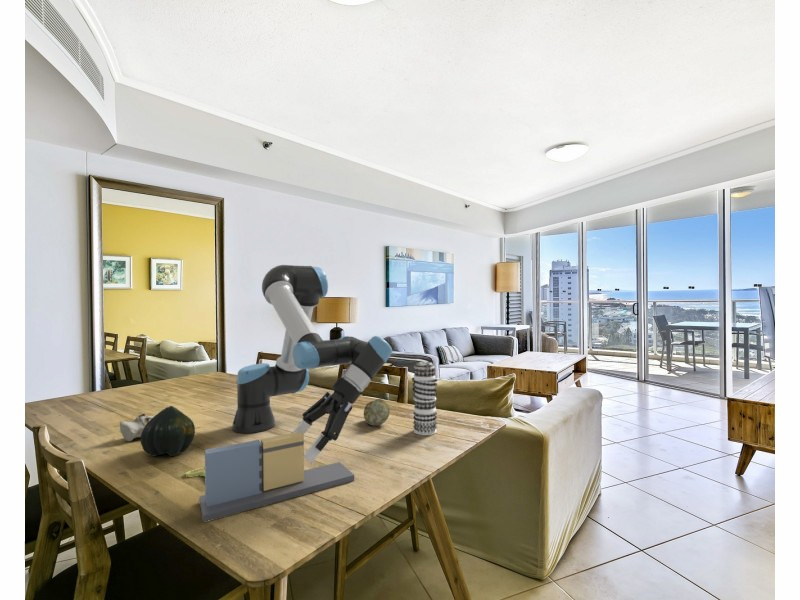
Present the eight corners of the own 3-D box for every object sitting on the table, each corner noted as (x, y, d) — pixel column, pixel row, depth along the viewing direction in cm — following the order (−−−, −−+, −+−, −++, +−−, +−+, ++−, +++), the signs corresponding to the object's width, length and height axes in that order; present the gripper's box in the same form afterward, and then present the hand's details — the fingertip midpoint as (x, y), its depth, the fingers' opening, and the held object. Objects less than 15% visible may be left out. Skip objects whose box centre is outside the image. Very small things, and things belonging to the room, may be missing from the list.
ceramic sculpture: (115, 414, 137) (163, 407, 148) (114, 439, 136) (161, 430, 147) (124, 420, 130) (173, 413, 141) (122, 446, 129) (172, 437, 141)
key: (213, 485, 102) (213, 477, 102) (181, 477, 107) (181, 469, 107) (235, 474, 109) (235, 466, 109) (203, 467, 114) (203, 460, 114)
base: (203, 522, 84) (203, 515, 84) (199, 502, 93) (199, 496, 93) (354, 480, 103) (354, 474, 103) (339, 467, 112) (339, 461, 112)
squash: (156, 449, 112) (184, 402, 122) (121, 445, 117) (150, 400, 127) (189, 467, 122) (213, 422, 131) (155, 462, 127) (180, 419, 137)
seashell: (391, 419, 156) (391, 394, 156) (388, 428, 145) (387, 402, 145) (365, 418, 157) (365, 394, 157) (360, 428, 146) (359, 401, 146)
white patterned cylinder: (430, 437, 135) (429, 365, 135) (407, 432, 140) (407, 363, 140) (442, 429, 143) (441, 362, 143) (420, 425, 148) (419, 360, 148)
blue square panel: (206, 507, 88) (206, 454, 88) (205, 501, 90) (204, 449, 90) (262, 492, 94) (261, 443, 94) (259, 487, 97) (258, 439, 97)
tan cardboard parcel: (263, 491, 94) (263, 443, 94) (260, 486, 97) (260, 439, 97) (304, 480, 100) (303, 435, 100) (300, 476, 102) (300, 431, 102)
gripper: (381, 402, 98) (326, 476, 90) (341, 385, 119) (294, 444, 111) (362, 384, 95) (303, 459, 87) (324, 369, 117) (274, 429, 108)
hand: (298, 451), depth 99 cm, fingers open, 13 cm apart
